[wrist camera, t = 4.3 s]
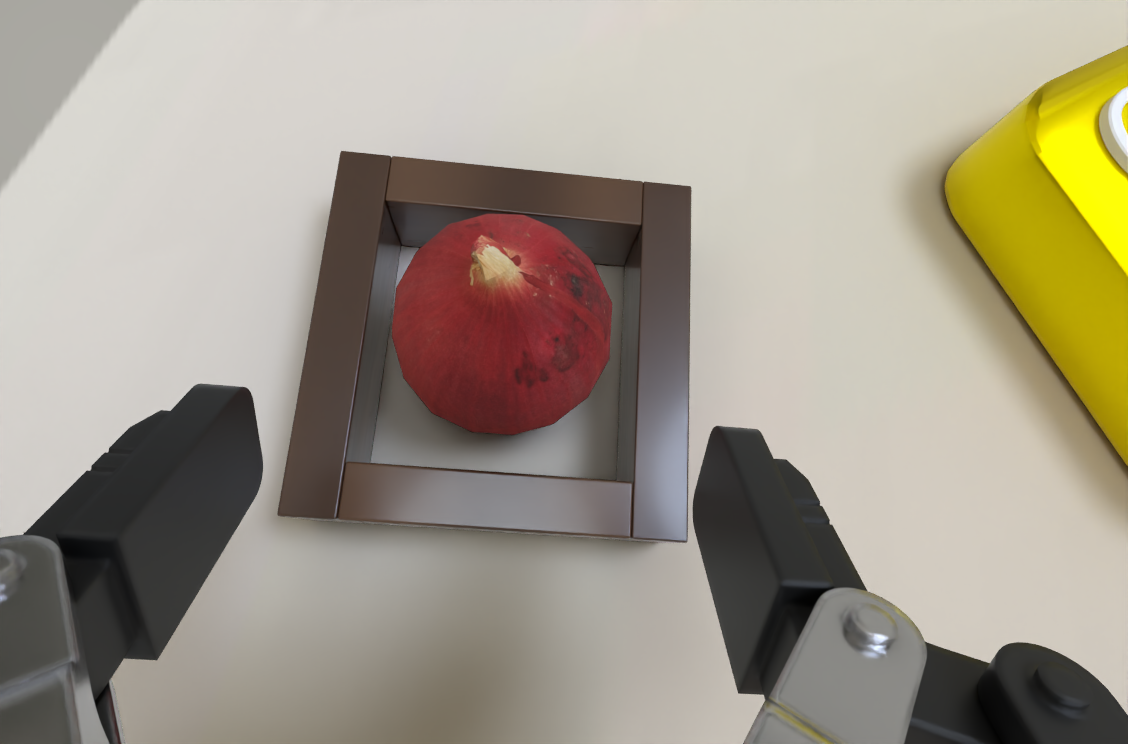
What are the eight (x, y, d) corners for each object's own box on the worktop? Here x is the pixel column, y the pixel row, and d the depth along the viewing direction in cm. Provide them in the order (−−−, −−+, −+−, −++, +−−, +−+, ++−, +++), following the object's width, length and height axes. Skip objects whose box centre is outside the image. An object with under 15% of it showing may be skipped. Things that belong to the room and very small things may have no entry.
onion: (596, 288, 22) (645, 148, 14) (590, 457, 20) (641, 405, 13) (423, 274, 21) (375, 123, 14) (403, 446, 20) (338, 385, 12)
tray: (311, 520, 19) (275, 516, 16) (362, 201, 22) (340, 149, 19) (661, 542, 20) (688, 542, 17) (668, 231, 23) (691, 185, 20)
